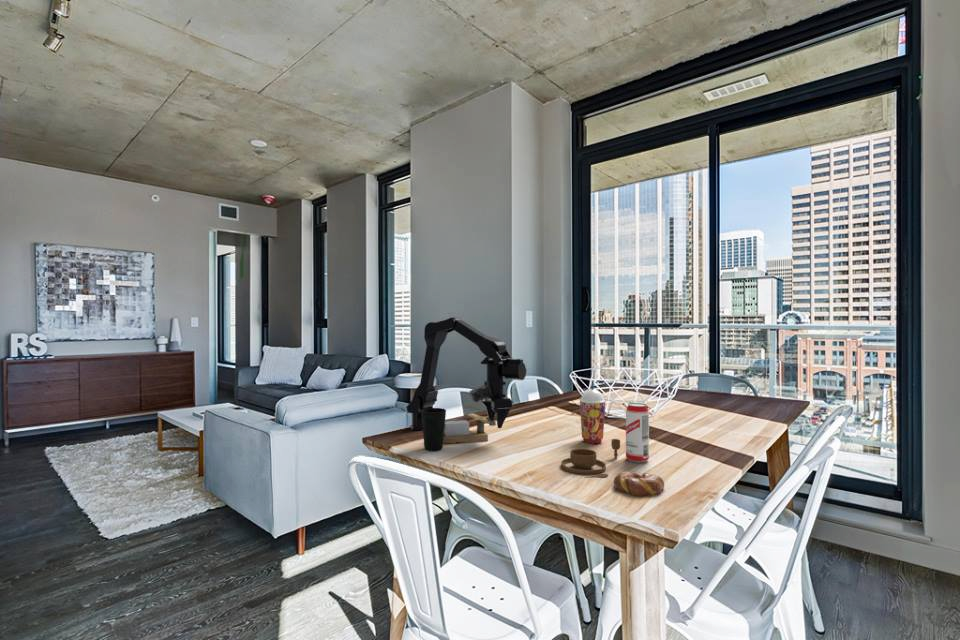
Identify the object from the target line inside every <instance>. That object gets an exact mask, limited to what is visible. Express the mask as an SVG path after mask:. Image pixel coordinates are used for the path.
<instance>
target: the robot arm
mask: <svg viewBox="0 0 960 640" xmlns="http://www.w3.org/2000/svg"><path fill="white" fill-rule="evenodd" d="M452 332H456V333H458V334H459V335H461V336H463V338H465V339H467V340H468V341H470V342H471V343H473V344H475V345H476V346H477V347H478V349H479V351H480V352H481V353H482V355H484V356H485V358H483V360H482V361H480V364H481V365H486V380H484V382H483V385H481V386H479V387H477V388H474V389H472V390H469V391H468V392H469V396H470V398H471V401H473V402H475V403H477V402H480V403H481V404H482V405H483V406H484V407H485V411H486V413H487V417H488V418H487V419H489V420H491V421H496V425H497V428H498V429H502V427H503V425H504V423H505V421H506V418H507V416H508V414H509V413H510V410H511V409H513V407H514V402H513V400H512V399H511V398H510V397H508V396H507V395H506V393H505V392H504V391H505V388H504V387H505V386H506V381H504V380H513V381H514V380H515V381H516V380H517V381H523V380H525V378H526V376H527V368H526V363H524V358H516V359H515V358H513V356H512V355H511V353H510V352H509V351H508V349H507V344H506V343H505V342H504V341H503V340H501V339H499V338H496V337H492V336H489V335H486V334H484V333H483V332H481V331H479V330H478V329H476V328H475V327H473V326H472V325H470V324H468V322H466V321H464V320H462V318H461V317H457V316H456V317H454V316H453V317H449V318H447V319H443V320H439V321H429V322H428V323H426V325H425V326H424V335H423V336H424V337H423V338H424V341H425V342H424V343H425V344H426V348H425V353H424V360H423V365H422V371H421V377H420V381H419V385H418V386H417V387H416V389H415V390H414V393H413V396H412V399H411V401H410V402H409V403H408V404H407V405H406V407H405V408H406V411H407V413H409V414H411V425H409V428H410V429H411V430H412V431H419V430H420V431H421V430H422V431H423V425H422V414H421V410H423V409H427V408H434V405H435V404H436V402H438V395H439V390H436V388H435V386H434V385H435V379H436V378H435V377H436V374H437V367H438V361H439V355H440V349H441V347H442V345H443V344H444V343H445V341H446V339H447V336H448V334H450V333H452ZM495 419H496V420H495ZM412 427H414V428H412Z"/></svg>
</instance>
